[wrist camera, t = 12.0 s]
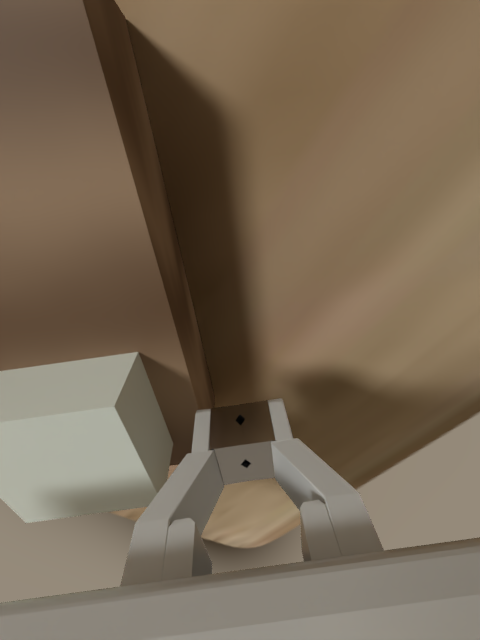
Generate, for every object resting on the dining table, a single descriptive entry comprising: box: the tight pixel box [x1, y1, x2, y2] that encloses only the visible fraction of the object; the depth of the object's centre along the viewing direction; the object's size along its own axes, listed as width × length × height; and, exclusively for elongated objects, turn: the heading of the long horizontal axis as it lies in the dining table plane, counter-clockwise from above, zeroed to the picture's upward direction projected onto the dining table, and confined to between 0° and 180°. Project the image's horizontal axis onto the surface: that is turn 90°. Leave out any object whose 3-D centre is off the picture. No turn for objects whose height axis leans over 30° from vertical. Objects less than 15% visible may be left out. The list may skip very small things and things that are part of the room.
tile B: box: [0, 352, 173, 523], centre depth 10 cm, size 5×5×2 cm
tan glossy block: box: [0, 0, 215, 465], centre depth 11 cm, size 16×10×4 cm, turn 7°
